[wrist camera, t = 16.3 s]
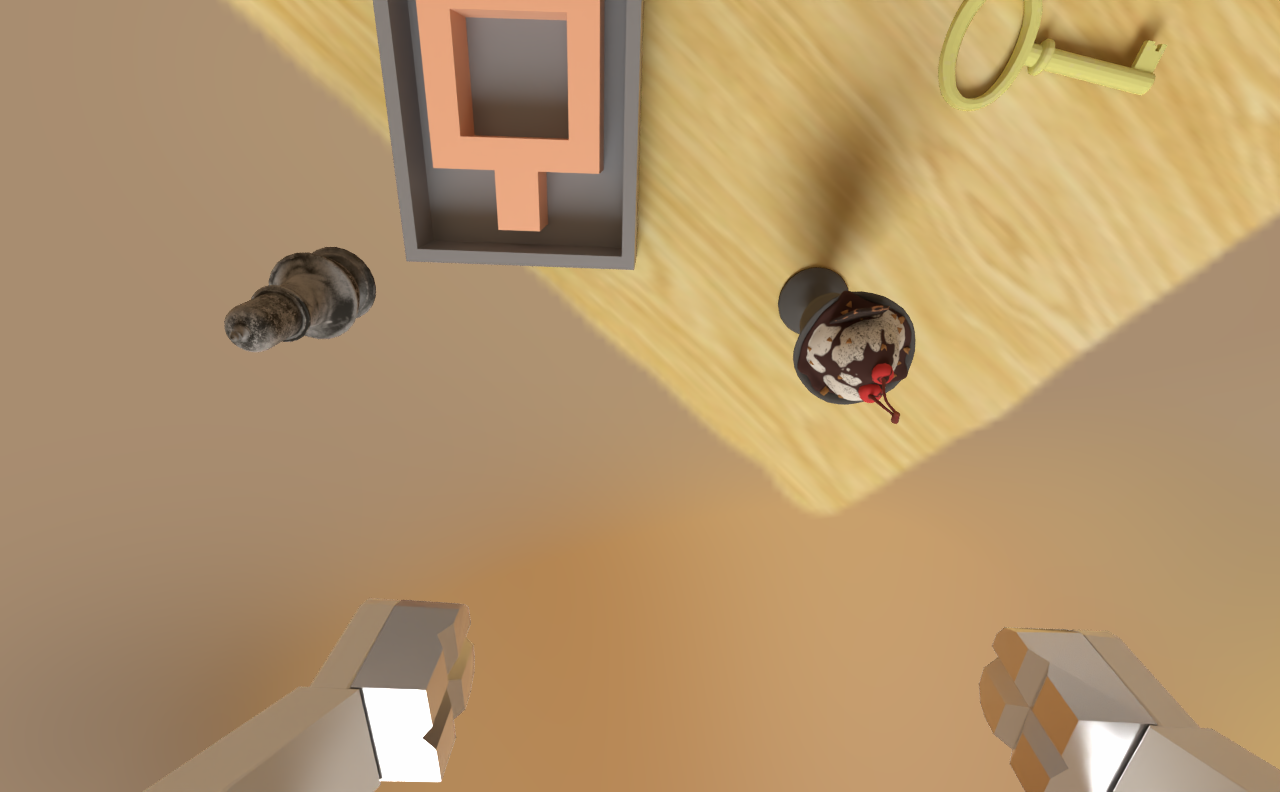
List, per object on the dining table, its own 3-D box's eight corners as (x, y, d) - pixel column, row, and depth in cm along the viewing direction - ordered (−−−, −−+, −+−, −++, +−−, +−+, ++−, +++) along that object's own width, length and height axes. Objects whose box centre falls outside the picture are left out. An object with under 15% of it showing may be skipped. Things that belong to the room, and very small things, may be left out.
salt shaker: (285, 249, 42) (154, 293, 32) (364, 236, 42) (259, 277, 31) (315, 328, 45) (204, 395, 34) (391, 317, 44) (302, 382, 33)
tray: (645, -73, 34) (643, -94, 31) (636, 257, 42) (634, 269, 38) (389, -80, 34) (359, -103, 31) (427, 249, 42) (406, 261, 39)
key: (1135, 95, 37) (1161, 94, 35) (930, 114, 38) (944, 113, 36) (1167, -46, 34) (1197, -55, 32) (944, -22, 35) (960, -30, 33)
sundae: (823, 362, 45) (895, 468, 31) (748, 317, 43) (788, 407, 30) (881, 286, 42) (987, 365, 29) (803, 237, 41) (874, 295, 27)
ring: (431, -21, 35) (412, -33, 32) (604, -15, 35) (599, -27, 32) (454, 220, 40) (439, 227, 38) (603, 226, 40) (599, 233, 38)
